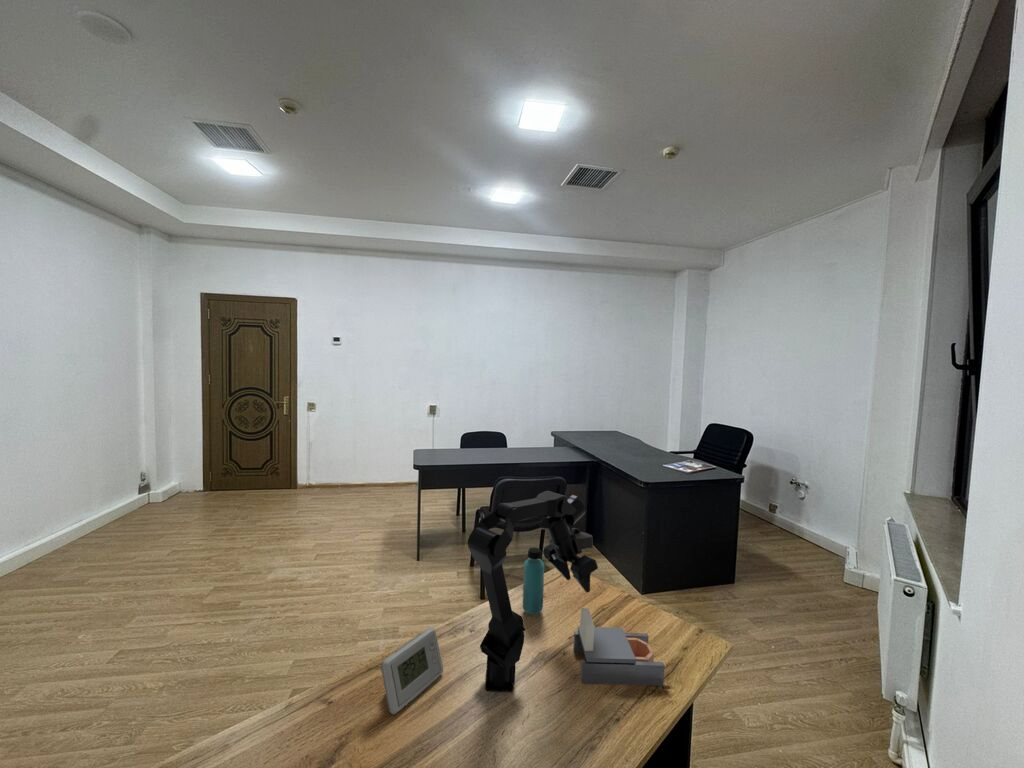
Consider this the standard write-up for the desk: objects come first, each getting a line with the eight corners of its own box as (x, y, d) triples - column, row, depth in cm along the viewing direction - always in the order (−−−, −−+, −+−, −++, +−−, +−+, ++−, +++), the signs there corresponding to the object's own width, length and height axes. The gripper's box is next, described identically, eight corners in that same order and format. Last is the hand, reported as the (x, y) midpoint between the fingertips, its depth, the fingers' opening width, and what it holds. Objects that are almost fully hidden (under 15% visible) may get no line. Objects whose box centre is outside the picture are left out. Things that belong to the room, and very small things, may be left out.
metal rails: (581, 683, 99) (582, 663, 98) (573, 649, 111) (574, 631, 110) (663, 685, 99) (664, 665, 99) (646, 651, 111) (647, 633, 111)
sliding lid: (586, 661, 98) (588, 631, 98) (577, 630, 110) (579, 602, 110) (636, 663, 99) (637, 632, 98) (621, 631, 111) (623, 603, 110)
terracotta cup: (624, 678, 101) (625, 658, 101) (615, 655, 109) (616, 637, 109) (656, 679, 101) (657, 659, 101) (645, 656, 109) (646, 638, 109)
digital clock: (389, 721, 86) (391, 672, 86) (370, 695, 92) (371, 650, 92) (452, 681, 98) (453, 638, 97) (430, 661, 104) (432, 620, 103)
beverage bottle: (543, 619, 123) (546, 554, 122) (521, 618, 123) (524, 553, 122) (542, 607, 130) (545, 545, 129) (521, 606, 130) (524, 544, 129)
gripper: (603, 529, 108) (621, 581, 109) (564, 513, 124) (580, 559, 126) (570, 550, 103) (590, 605, 104) (534, 531, 119) (552, 579, 121)
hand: (578, 585), depth 114 cm, fingers open, 9 cm apart
